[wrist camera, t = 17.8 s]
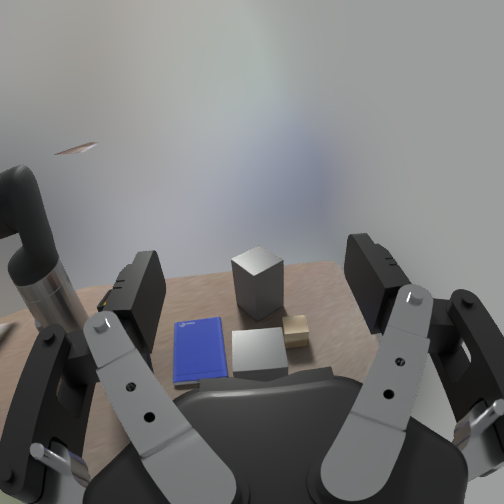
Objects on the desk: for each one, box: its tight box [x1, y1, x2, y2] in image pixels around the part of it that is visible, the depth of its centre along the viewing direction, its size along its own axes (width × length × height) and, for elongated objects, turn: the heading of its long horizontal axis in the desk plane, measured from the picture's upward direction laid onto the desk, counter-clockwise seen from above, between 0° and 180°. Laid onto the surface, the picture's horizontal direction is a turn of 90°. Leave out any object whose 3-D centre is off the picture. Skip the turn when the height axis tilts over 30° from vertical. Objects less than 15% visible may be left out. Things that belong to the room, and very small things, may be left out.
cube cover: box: [232, 327, 288, 382], centre depth 35 cm, size 6×6×10 cm
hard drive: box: [173, 317, 228, 385], centre depth 44 cm, size 2×8×12 cm
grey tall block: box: [231, 245, 284, 322], centre depth 50 cm, size 6×6×10 cm
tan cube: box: [282, 315, 309, 348], centre depth 44 cm, size 4×4×4 cm
